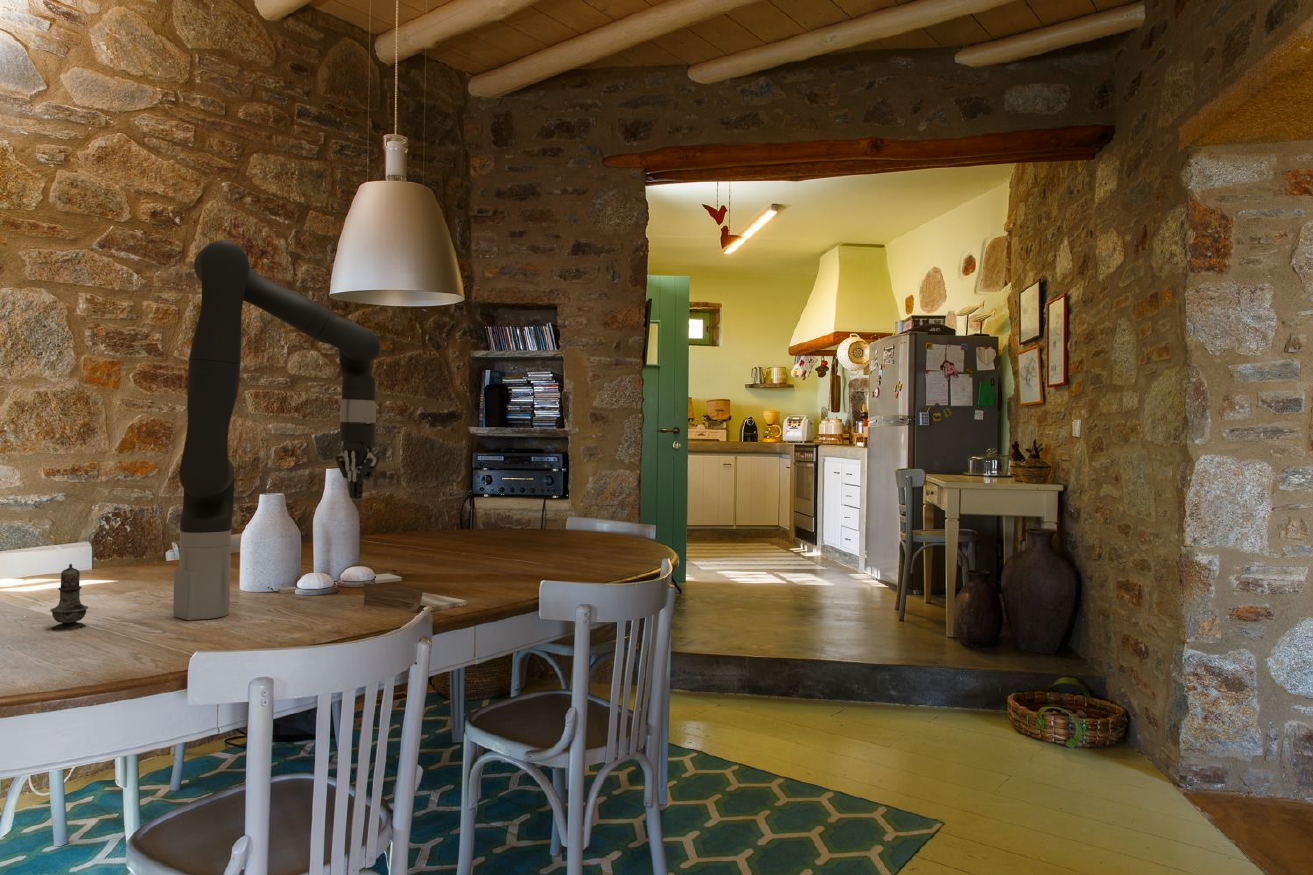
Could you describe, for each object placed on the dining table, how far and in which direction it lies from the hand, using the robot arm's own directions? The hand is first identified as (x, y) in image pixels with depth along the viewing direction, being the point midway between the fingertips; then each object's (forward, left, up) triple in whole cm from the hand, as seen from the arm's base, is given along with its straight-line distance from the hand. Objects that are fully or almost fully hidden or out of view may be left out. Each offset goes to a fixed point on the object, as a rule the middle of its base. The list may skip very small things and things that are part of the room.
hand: (355, 498), depth 191 cm
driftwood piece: (+1, -12, -23) cm, 26 cm away
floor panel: (+9, -11, -23) cm, 27 cm away
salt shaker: (-49, +18, -23) cm, 57 cm away
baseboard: (+11, +22, -24) cm, 34 cm away
